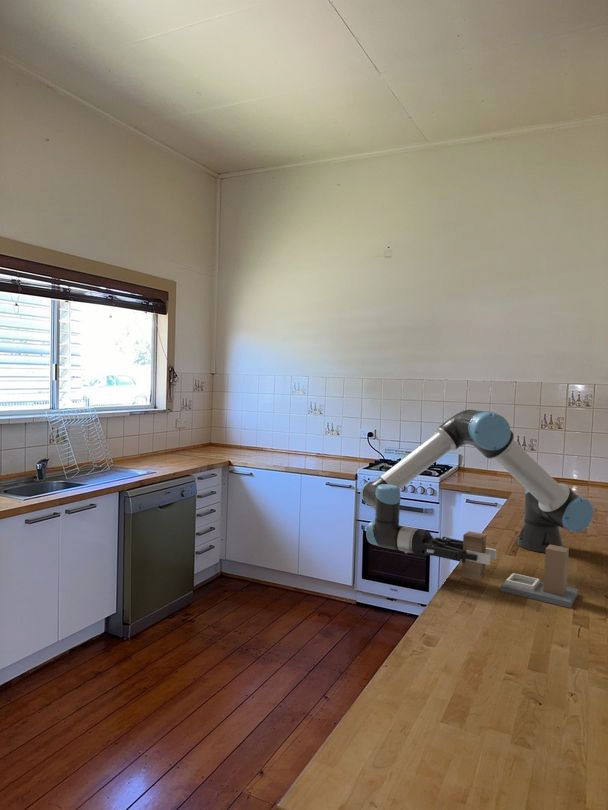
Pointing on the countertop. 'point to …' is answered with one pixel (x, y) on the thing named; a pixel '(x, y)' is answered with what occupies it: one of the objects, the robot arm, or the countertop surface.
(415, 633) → the countertop surface
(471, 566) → the pillar
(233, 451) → the countertop surface
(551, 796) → the countertop surface
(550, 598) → the baseplate
